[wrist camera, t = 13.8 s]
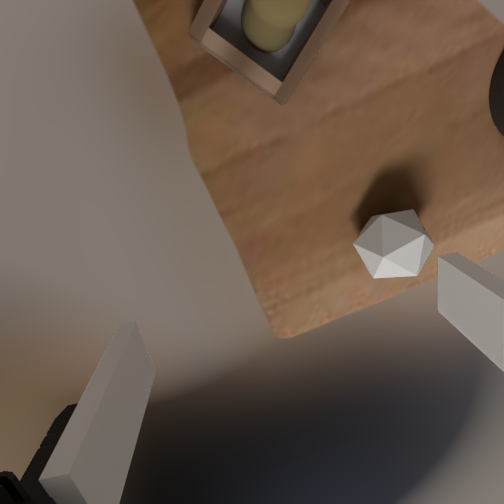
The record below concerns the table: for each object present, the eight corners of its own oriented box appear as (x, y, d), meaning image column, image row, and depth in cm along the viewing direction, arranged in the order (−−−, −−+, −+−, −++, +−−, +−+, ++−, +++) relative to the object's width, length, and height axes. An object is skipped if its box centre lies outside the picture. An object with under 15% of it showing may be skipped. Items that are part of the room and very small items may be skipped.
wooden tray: (344, 3, 37) (355, -8, 33) (281, 104, 40) (285, 104, 37) (250, -78, 33) (253, -99, 30) (191, 39, 37) (187, 32, 34)
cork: (266, -29, 35) (283, -89, 24) (308, 18, 36) (339, -19, 26) (228, 22, 36) (229, -13, 26) (270, 65, 38) (285, 48, 28)
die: (402, 263, 50) (464, 248, 40) (361, 294, 46) (420, 286, 37) (372, 212, 50) (428, 187, 40) (329, 240, 46) (380, 218, 37)
